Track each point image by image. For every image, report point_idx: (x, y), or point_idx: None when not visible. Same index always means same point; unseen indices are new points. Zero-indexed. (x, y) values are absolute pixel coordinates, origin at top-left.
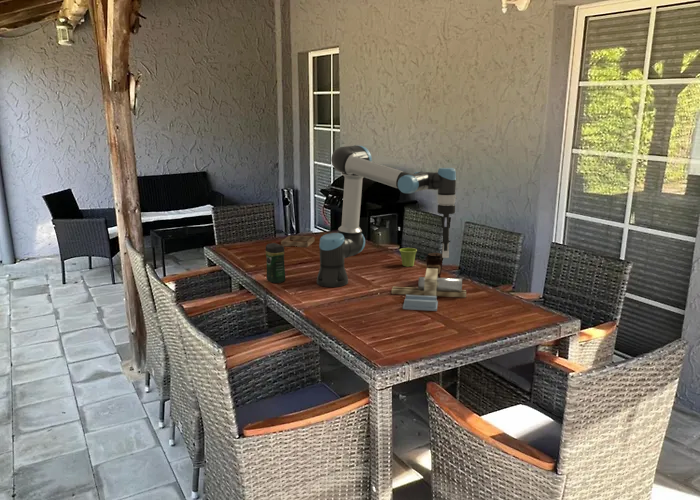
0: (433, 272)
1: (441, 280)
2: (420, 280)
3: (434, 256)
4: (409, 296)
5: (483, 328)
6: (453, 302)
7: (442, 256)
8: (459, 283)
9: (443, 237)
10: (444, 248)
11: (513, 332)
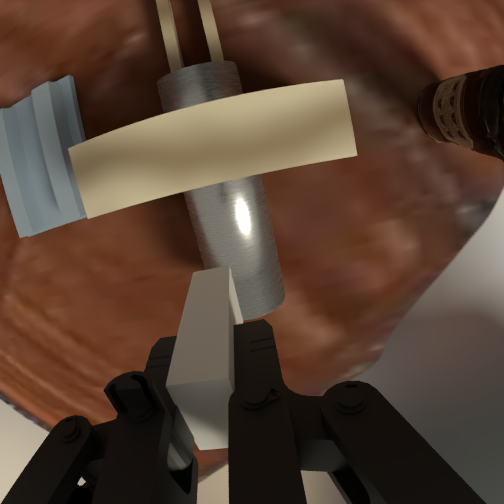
0: (245, 148)
1: (200, 212)
2: (165, 87)
3: (501, 116)
4: (34, 106)
5: (13, 370)
6: (145, 266)
7: (191, 279)
8: None
9: (20, 496)
10: (151, 365)
11: (39, 417)
